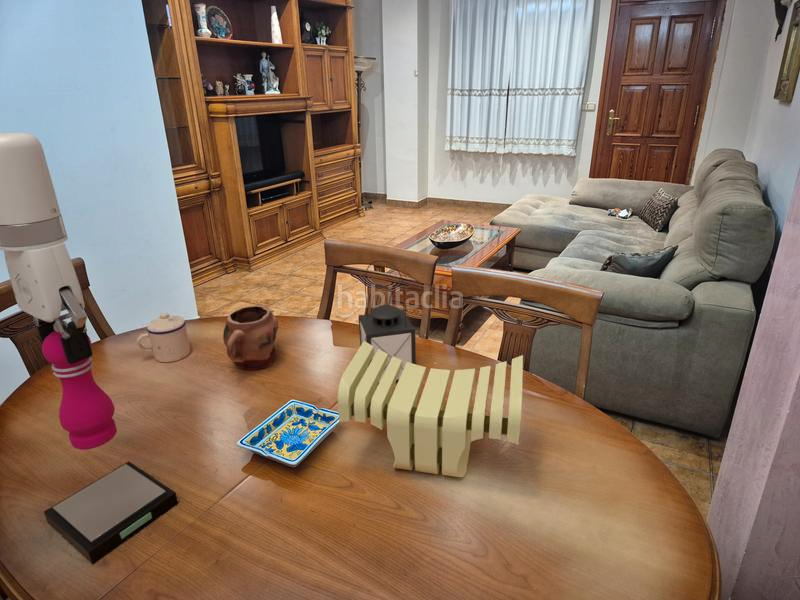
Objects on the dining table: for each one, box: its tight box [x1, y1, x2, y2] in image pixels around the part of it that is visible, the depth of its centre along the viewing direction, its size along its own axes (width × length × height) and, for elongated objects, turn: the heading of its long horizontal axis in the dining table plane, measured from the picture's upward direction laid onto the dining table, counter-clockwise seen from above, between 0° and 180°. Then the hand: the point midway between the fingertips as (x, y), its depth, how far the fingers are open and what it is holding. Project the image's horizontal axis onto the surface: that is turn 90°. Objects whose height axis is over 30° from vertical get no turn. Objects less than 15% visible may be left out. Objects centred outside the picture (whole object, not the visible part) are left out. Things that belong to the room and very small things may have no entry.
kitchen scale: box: [43, 461, 179, 565], centre depth 83 cm, size 14×14×3 cm
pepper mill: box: [41, 320, 118, 451], centre depth 76 cm, size 7×7×20 cm
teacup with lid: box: [136, 312, 191, 363], centre depth 130 cm, size 12×9×12 cm
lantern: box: [357, 260, 417, 387], centre depth 117 cm, size 11×11×28 cm
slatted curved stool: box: [337, 341, 524, 478], centre depth 92 cm, size 30×16×18 cm, turn 77°
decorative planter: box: [222, 304, 279, 371], centre depth 124 cm, size 20×12×14 cm, turn 174°
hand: (68, 352), depth 74 cm, fingers closed on pepper mill, 6 cm apart
